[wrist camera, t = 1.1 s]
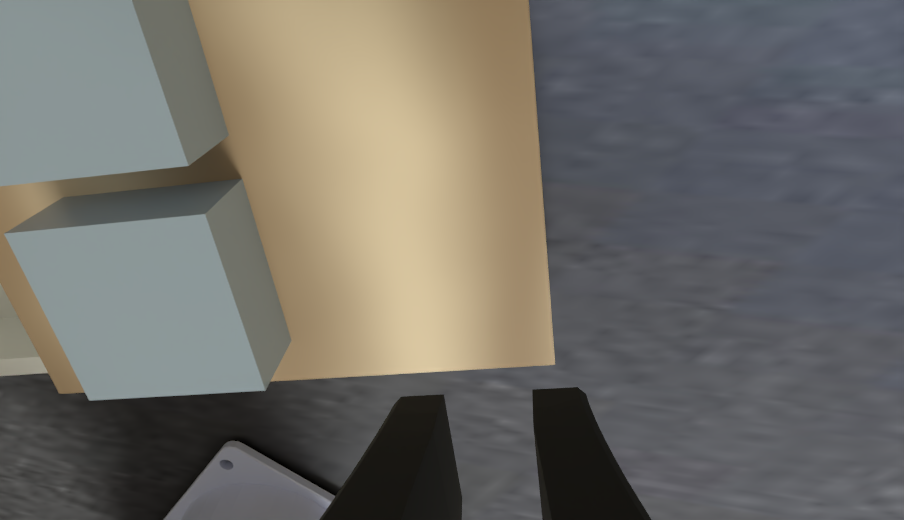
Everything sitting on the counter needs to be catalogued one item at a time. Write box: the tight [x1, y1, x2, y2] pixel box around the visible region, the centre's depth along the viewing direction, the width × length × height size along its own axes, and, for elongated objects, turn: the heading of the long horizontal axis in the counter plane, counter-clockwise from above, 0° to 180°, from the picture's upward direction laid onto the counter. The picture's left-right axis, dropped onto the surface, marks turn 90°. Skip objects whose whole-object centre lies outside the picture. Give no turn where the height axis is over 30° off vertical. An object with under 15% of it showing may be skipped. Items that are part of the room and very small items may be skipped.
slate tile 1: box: [0, 0, 229, 186], centre depth 12 cm, size 4×4×2 cm
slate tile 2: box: [4, 179, 292, 401], centre depth 15 cm, size 4×4×2 cm
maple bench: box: [0, 0, 555, 394], centre depth 16 cm, size 14×13×4 cm
